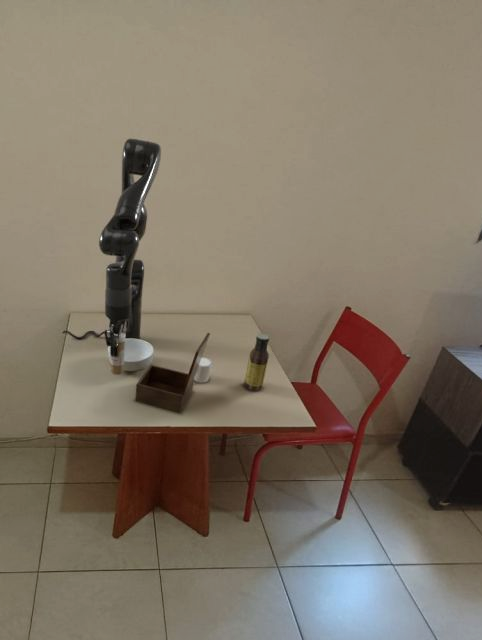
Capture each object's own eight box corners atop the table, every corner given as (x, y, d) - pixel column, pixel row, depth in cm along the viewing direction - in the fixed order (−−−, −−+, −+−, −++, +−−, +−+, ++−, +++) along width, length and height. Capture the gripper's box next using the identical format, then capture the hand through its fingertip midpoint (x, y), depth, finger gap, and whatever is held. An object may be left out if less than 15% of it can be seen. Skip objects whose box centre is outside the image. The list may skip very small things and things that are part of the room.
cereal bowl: (120, 350, 173) (120, 333, 169) (159, 360, 167) (161, 344, 164) (99, 370, 161) (99, 353, 157) (140, 382, 155) (141, 365, 151)
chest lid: (195, 351, 127) (198, 352, 127) (207, 332, 137) (210, 333, 137) (181, 394, 137) (183, 395, 137) (193, 373, 147) (195, 374, 147)
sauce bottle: (252, 379, 158) (263, 329, 147) (265, 388, 154) (278, 337, 143) (239, 384, 156) (249, 334, 144) (252, 393, 151) (264, 342, 140)
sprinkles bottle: (107, 371, 141) (107, 333, 133) (116, 366, 144) (117, 328, 136) (117, 377, 138) (118, 338, 131) (127, 371, 141) (128, 333, 134)
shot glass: (211, 375, 160) (214, 358, 156) (208, 385, 155) (210, 368, 151) (193, 371, 162) (195, 355, 158) (188, 381, 156) (191, 364, 152)
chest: (135, 401, 146) (136, 384, 142) (150, 380, 156) (151, 364, 152) (180, 413, 141) (182, 396, 137) (192, 391, 151) (194, 375, 147)
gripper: (116, 289, 134) (115, 339, 144) (95, 307, 123) (96, 360, 133) (139, 294, 132) (137, 344, 141) (120, 312, 121) (119, 365, 130)
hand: (117, 351), depth 137 cm, fingers closed on sprinkles bottle, 4 cm apart
